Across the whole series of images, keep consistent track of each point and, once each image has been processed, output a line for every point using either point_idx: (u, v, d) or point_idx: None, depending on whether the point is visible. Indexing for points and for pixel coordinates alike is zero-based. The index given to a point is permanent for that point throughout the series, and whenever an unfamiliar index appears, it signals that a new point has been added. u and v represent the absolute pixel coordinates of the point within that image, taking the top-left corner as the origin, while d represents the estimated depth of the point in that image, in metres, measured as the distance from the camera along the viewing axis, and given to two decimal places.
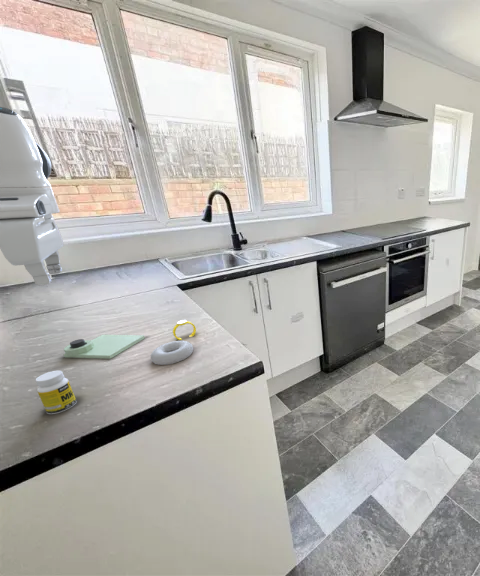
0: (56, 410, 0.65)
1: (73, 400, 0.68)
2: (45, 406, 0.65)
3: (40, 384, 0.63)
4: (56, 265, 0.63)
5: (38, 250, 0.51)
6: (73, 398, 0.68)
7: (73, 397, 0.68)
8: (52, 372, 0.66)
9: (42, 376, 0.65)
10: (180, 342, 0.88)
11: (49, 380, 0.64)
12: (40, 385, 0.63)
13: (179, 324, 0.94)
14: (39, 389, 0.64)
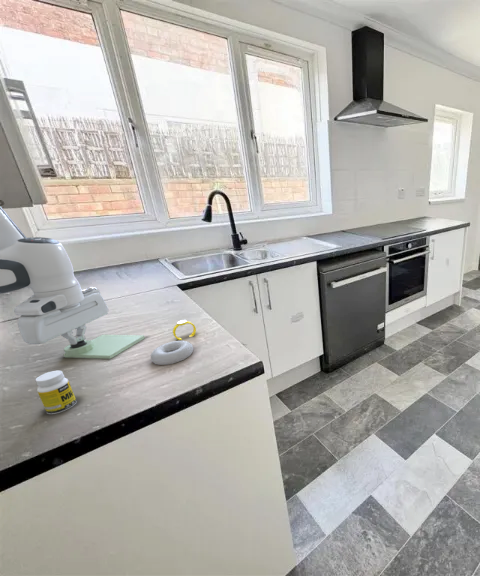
0: (56, 410, 0.65)
1: (73, 400, 0.68)
2: (45, 406, 0.65)
3: (40, 384, 0.63)
4: (78, 337, 0.88)
5: (37, 337, 0.77)
6: (73, 398, 0.68)
7: (73, 397, 0.68)
8: (52, 372, 0.66)
9: (42, 376, 0.65)
10: (180, 342, 0.88)
11: (49, 380, 0.64)
12: (40, 385, 0.63)
13: (179, 324, 0.94)
14: (39, 389, 0.64)
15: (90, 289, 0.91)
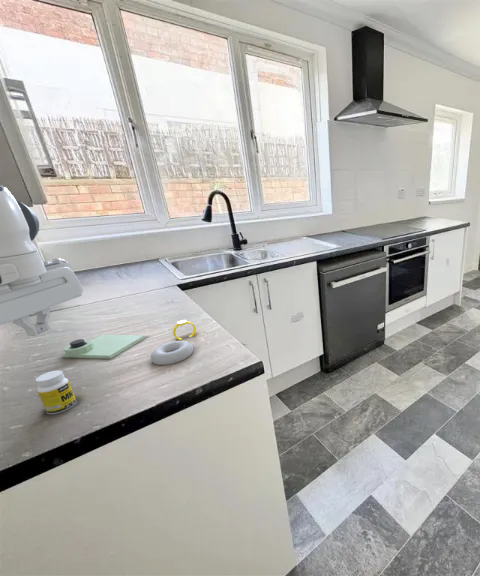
0: (56, 410, 0.65)
1: (73, 400, 0.68)
2: (45, 406, 0.65)
3: (40, 384, 0.63)
4: (38, 325, 0.64)
5: None
6: (73, 398, 0.68)
7: (73, 397, 0.68)
8: (52, 372, 0.66)
9: (42, 376, 0.65)
10: (180, 342, 0.88)
11: (49, 380, 0.64)
12: (40, 385, 0.63)
13: (179, 324, 0.94)
14: (39, 389, 0.64)
15: (56, 261, 0.67)
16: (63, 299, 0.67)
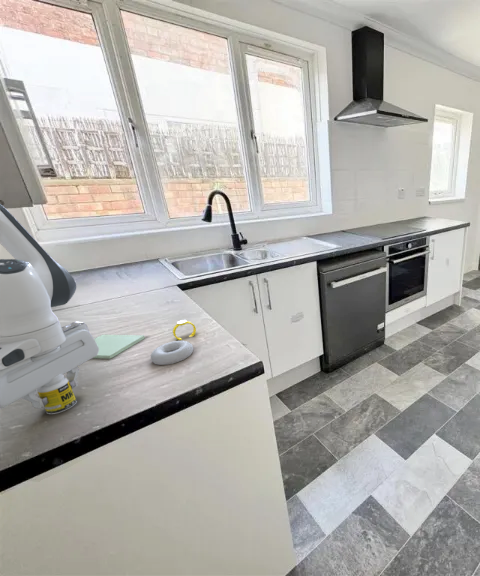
0: (56, 410, 0.65)
1: (73, 400, 0.68)
2: (45, 406, 0.65)
3: None
4: None
5: None
6: (73, 398, 0.68)
7: (73, 397, 0.68)
8: None
9: None
10: (180, 342, 0.88)
11: None
12: None
13: (179, 324, 0.94)
14: (39, 389, 0.64)
15: (75, 325, 0.70)
16: (80, 361, 0.70)
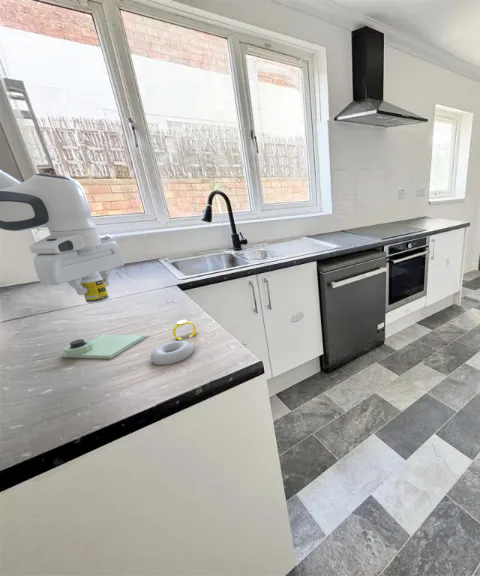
0: (94, 299, 0.83)
1: (106, 294, 0.86)
2: (85, 295, 0.83)
3: None
4: None
5: (53, 277, 0.73)
6: (106, 293, 0.86)
7: (106, 292, 0.86)
8: None
9: None
10: (180, 342, 0.88)
11: None
12: (82, 277, 0.81)
13: (179, 324, 0.94)
14: (81, 281, 0.82)
15: (107, 237, 0.88)
16: (111, 266, 0.88)
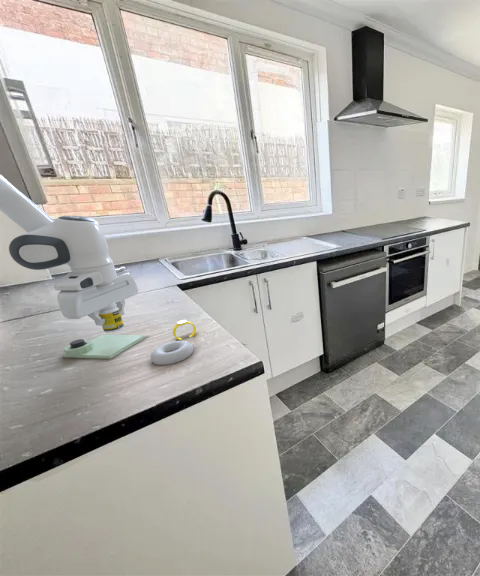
0: (111, 328, 0.89)
1: (122, 323, 0.92)
2: (103, 325, 0.89)
3: None
4: None
5: (76, 312, 0.79)
6: (122, 322, 0.92)
7: (122, 321, 0.92)
8: None
9: None
10: (180, 342, 0.88)
11: None
12: None
13: (179, 324, 0.94)
14: (99, 312, 0.88)
15: (122, 269, 0.94)
16: (126, 296, 0.94)
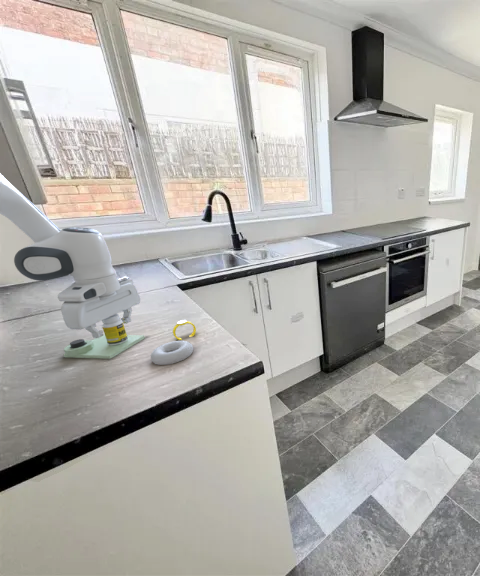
0: (115, 341, 0.91)
1: (126, 336, 0.93)
2: (107, 338, 0.90)
3: (105, 321, 0.89)
4: (125, 318, 0.95)
5: (79, 322, 0.80)
6: (125, 334, 0.93)
7: (126, 334, 0.93)
8: None
9: None
10: (180, 342, 0.88)
11: (111, 319, 0.89)
12: (105, 322, 0.89)
13: (179, 324, 0.94)
14: (104, 325, 0.89)
15: (124, 279, 0.94)
16: (128, 306, 0.95)
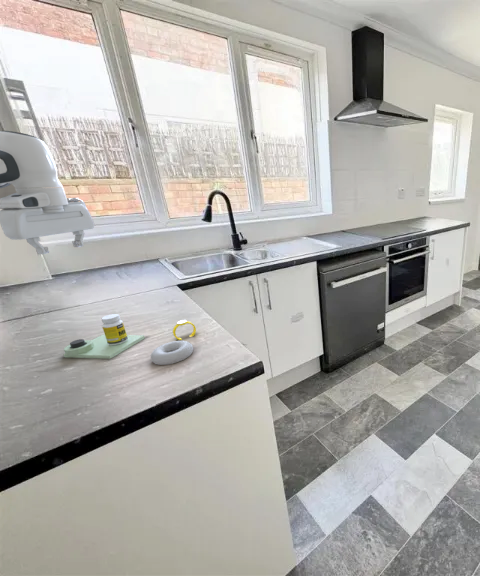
0: (115, 341, 0.91)
1: (126, 336, 0.93)
2: (107, 338, 0.90)
3: (105, 321, 0.89)
4: (76, 241, 0.90)
5: (18, 231, 0.76)
6: (125, 334, 0.93)
7: (126, 334, 0.93)
8: (112, 315, 0.91)
9: (105, 317, 0.90)
10: (180, 342, 0.88)
11: (111, 319, 0.89)
12: (105, 322, 0.89)
13: (179, 324, 0.94)
14: (104, 325, 0.89)
15: (75, 199, 0.90)
16: (80, 228, 0.90)
